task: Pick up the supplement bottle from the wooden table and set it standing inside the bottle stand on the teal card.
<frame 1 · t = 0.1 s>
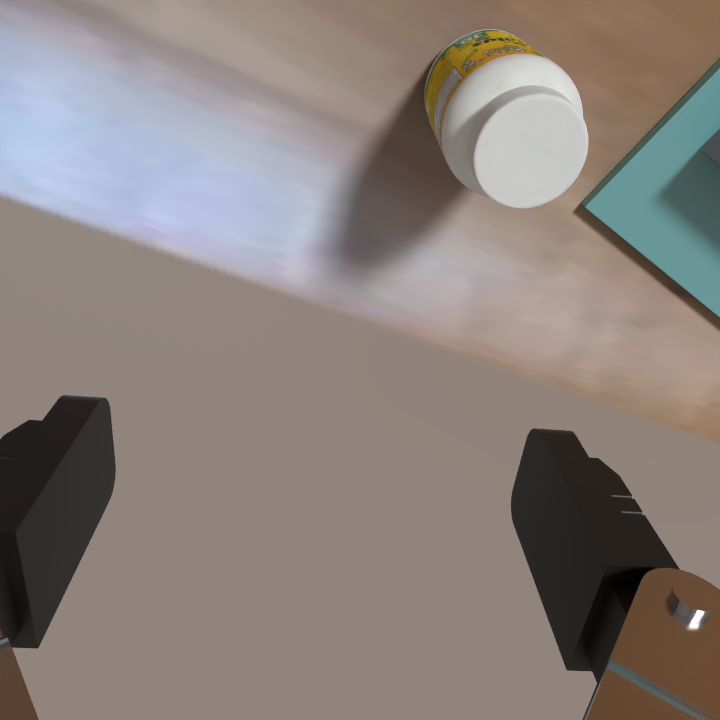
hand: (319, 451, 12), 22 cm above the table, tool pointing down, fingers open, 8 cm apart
supplement bottle: (479, 89, 30), on the table
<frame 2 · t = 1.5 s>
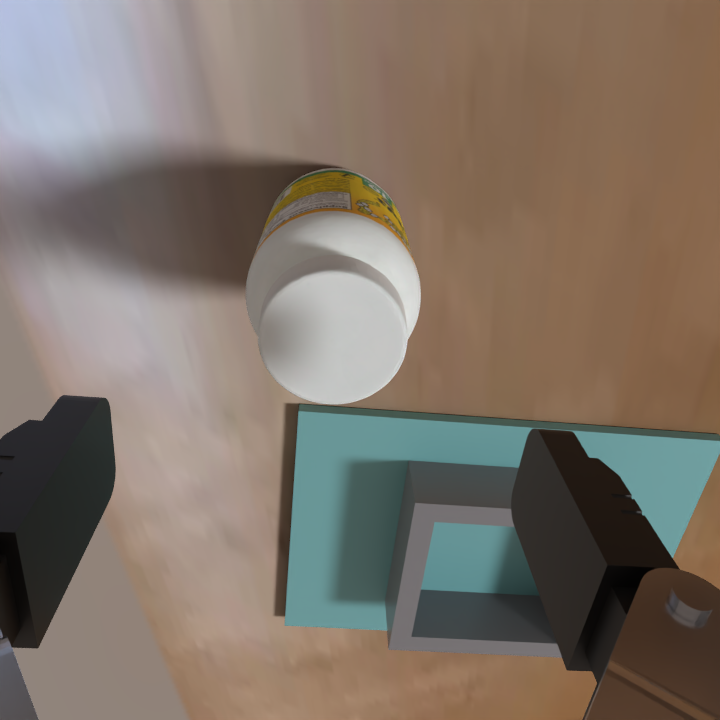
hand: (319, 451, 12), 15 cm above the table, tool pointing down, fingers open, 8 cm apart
supplement bottle: (335, 233, 25), on the table
bottle stand: (484, 532, 33), on the table
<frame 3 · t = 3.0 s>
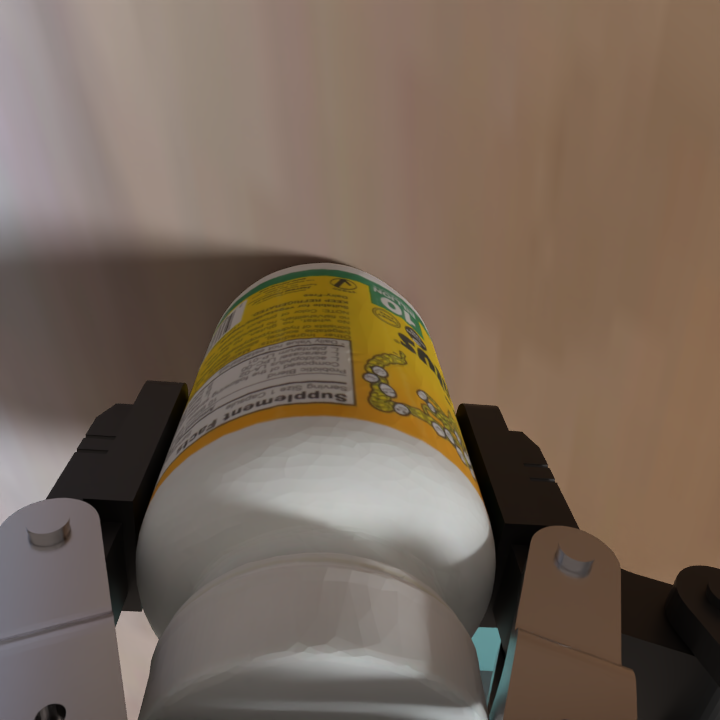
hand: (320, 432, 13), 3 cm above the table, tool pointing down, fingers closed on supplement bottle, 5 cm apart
supplement bottle: (324, 359, 16), on the table, touching gripper
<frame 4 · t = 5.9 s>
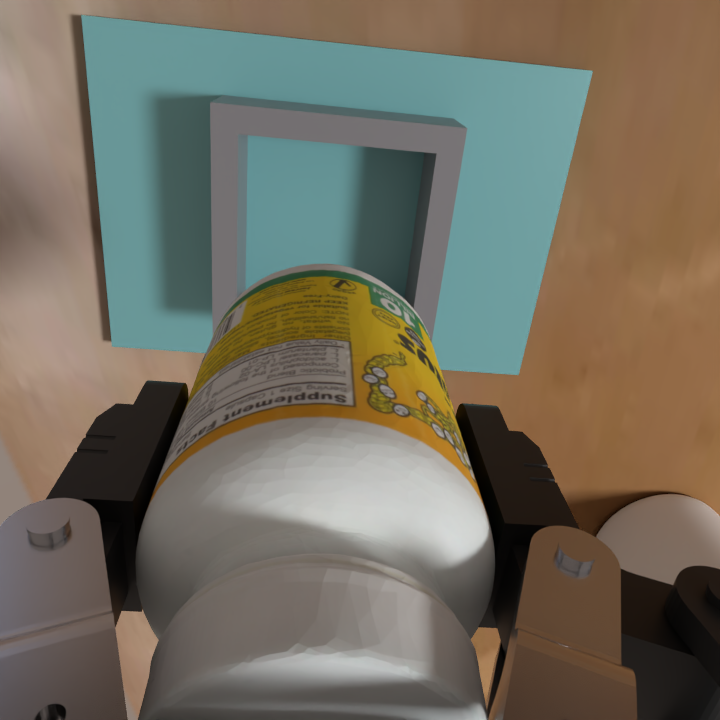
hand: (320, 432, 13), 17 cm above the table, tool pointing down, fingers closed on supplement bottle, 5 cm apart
supplement bottle: (323, 359, 16), point 14 cm above the table, touching gripper
bottle stand: (331, 217, 28), on the table
pill bottle: (652, 538, 38), on the table
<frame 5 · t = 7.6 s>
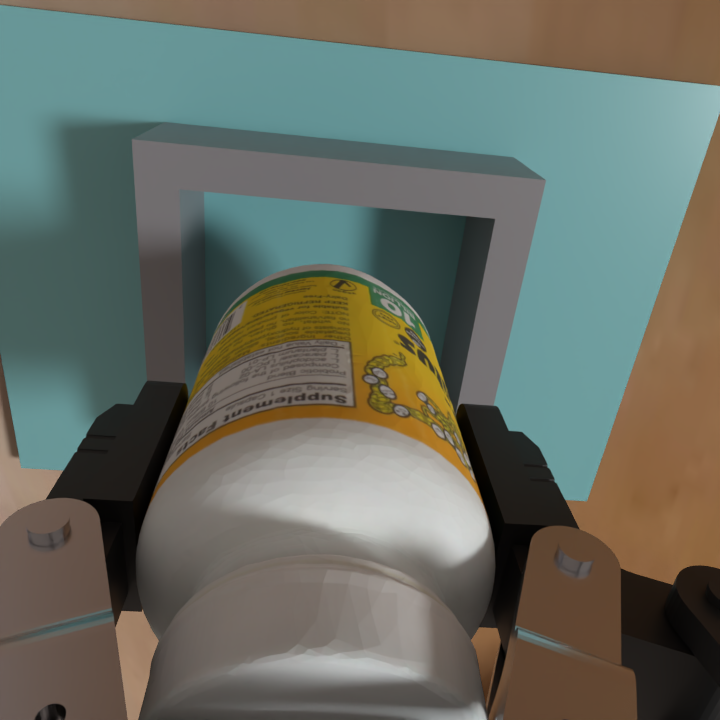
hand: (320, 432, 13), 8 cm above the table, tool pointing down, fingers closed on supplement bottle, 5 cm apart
supplement bottle: (323, 360, 16), point 4 cm above the table, touching gripper
bottle stand: (329, 294, 20), on the table
when the fingers open (5 cm above the table, at t = 9.1 s): supplement bottle drops 1 cm, resting on bottle stand.
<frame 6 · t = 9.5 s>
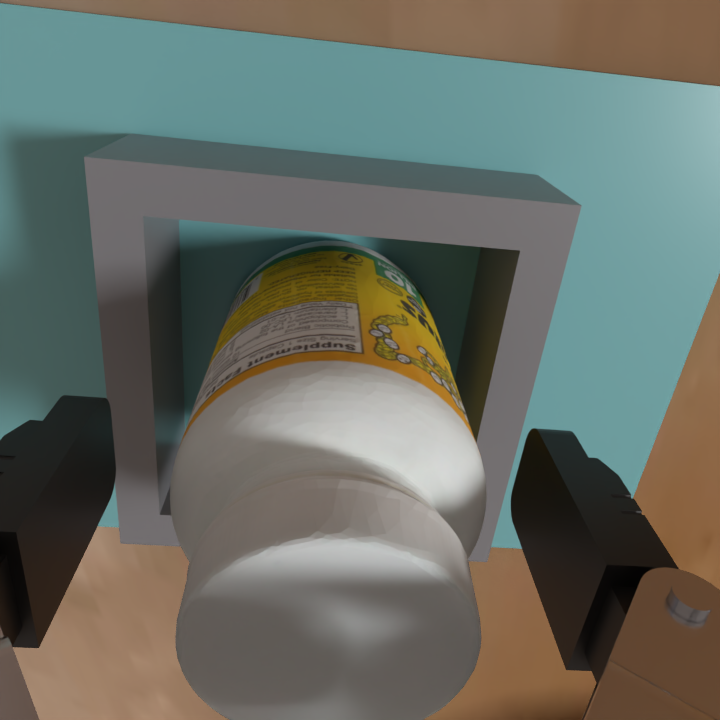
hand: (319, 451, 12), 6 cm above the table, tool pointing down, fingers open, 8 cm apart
supplement bottle: (331, 331, 17), resting on bottle stand
bottle stand: (324, 328, 17), on the table
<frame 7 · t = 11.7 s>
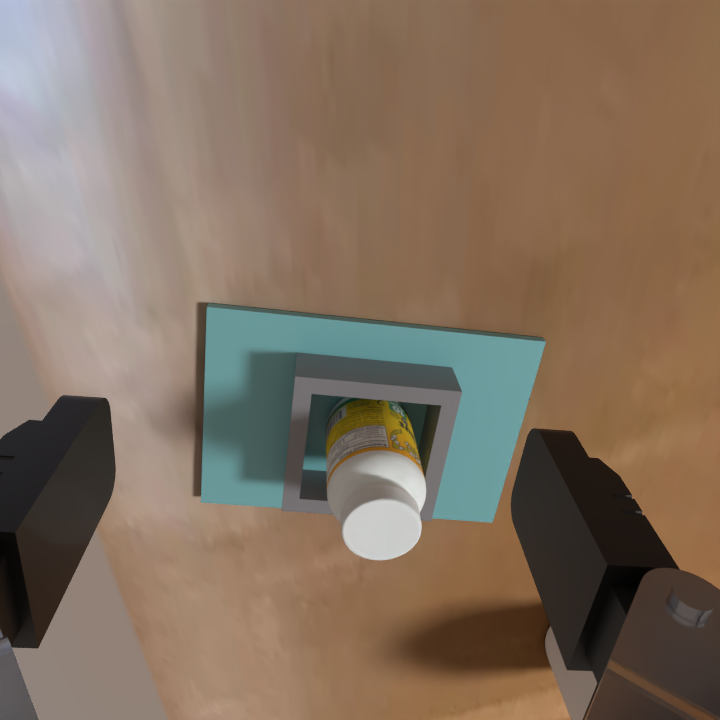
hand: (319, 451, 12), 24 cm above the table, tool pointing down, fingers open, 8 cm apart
supplement bottle: (367, 423, 40), resting on bottle stand
bottle stand: (364, 420, 40), on the table
pill bottle: (590, 630, 51), on the table
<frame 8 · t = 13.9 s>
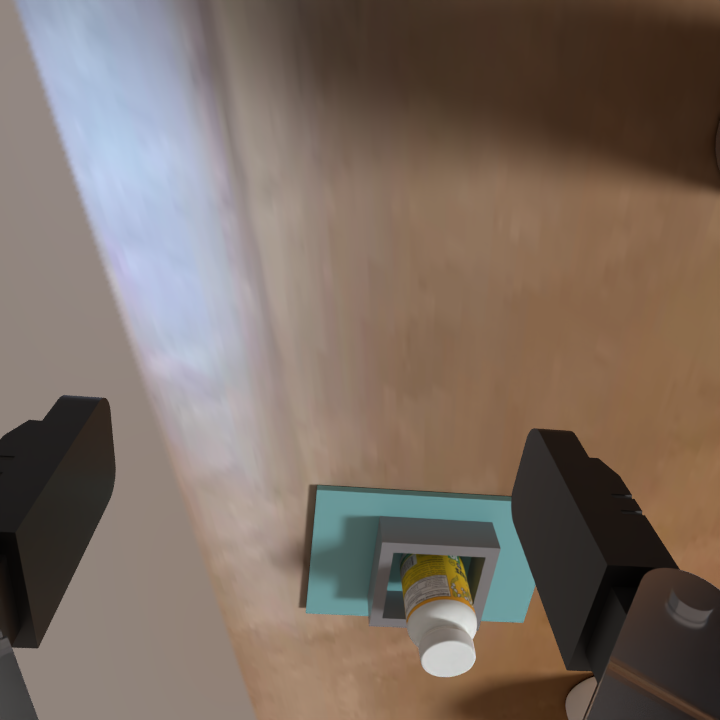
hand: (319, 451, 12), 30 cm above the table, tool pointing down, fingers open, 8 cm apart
supplement bottle: (429, 558, 54), resting on bottle stand
bottle stand: (426, 556, 54), on the table
pill bottle: (601, 694, 64), on the table
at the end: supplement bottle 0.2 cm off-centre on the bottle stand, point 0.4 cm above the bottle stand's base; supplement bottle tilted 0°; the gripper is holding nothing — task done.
